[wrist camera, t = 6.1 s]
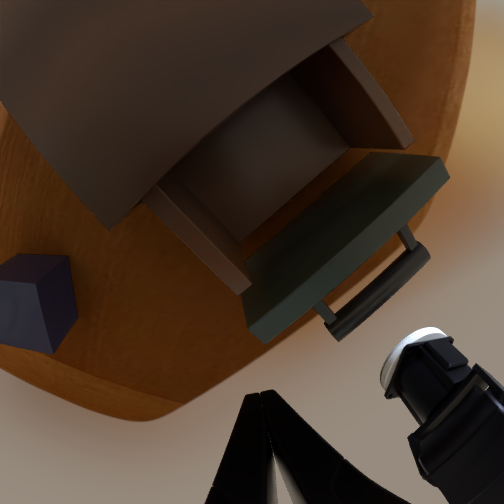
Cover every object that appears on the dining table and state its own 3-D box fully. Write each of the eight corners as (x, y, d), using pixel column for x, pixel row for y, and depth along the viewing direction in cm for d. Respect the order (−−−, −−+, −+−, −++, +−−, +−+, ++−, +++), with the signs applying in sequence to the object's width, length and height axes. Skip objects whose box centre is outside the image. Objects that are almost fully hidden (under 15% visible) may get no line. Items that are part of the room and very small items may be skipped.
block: (78, 317, 19) (53, 354, 15) (29, 311, 19) (0, 343, 14) (68, 255, 18) (35, 283, 13) (17, 253, 17) (-19, 278, 13)
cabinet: (308, 66, 16) (375, 16, 8) (154, 196, 18) (109, 231, 9) (167, -57, 12) (154, -131, 3) (29, 57, 13) (-46, 27, 5)
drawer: (411, 217, 19) (478, 246, 13) (290, 325, 21) (320, 391, 14) (243, 4, 14) (260, -59, 7) (96, 124, 15) (37, 113, 8)
